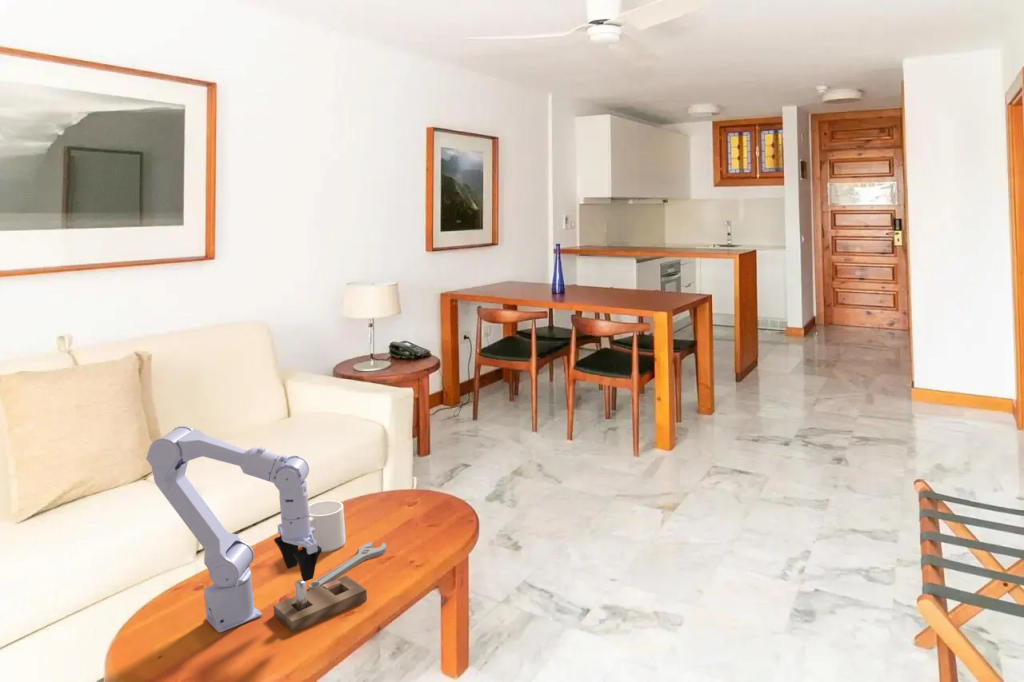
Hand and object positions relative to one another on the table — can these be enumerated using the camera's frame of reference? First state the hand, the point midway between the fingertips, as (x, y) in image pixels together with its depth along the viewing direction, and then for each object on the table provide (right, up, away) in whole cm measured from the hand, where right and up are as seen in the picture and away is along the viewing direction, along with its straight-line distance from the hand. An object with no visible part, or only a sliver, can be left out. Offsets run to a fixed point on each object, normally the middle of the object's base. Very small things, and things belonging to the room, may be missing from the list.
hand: (299, 573), depth 151 cm
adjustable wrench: (+5, -7, +23) cm, 25 cm away
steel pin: (0, -10, +2) cm, 10 cm away
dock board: (+3, -9, +5) cm, 11 cm away
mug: (-4, -4, +34) cm, 35 cm away
